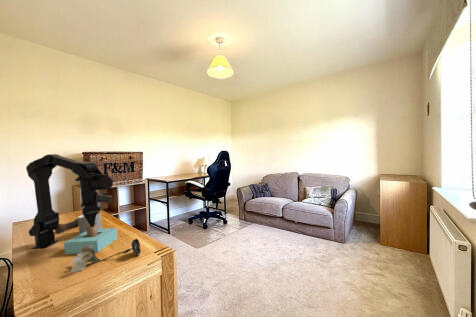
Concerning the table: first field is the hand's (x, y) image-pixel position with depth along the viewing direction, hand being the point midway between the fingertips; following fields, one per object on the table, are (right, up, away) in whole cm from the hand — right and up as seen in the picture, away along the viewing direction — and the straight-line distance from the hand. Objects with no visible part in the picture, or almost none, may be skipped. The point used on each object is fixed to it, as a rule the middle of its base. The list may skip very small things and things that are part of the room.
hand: (91, 224), depth 92 cm
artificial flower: (+17, -10, -15) cm, 25 cm away
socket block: (+1, -10, 0) cm, 10 cm away
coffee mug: (-13, -10, +17) cm, 24 cm away
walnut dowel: (0, -10, 0) cm, 10 cm away
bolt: (-31, -12, +27) cm, 43 cm away
